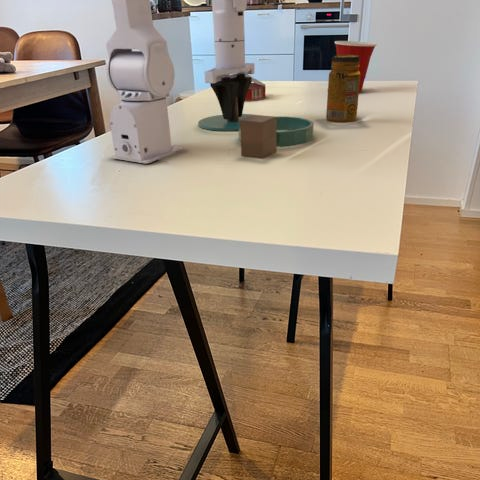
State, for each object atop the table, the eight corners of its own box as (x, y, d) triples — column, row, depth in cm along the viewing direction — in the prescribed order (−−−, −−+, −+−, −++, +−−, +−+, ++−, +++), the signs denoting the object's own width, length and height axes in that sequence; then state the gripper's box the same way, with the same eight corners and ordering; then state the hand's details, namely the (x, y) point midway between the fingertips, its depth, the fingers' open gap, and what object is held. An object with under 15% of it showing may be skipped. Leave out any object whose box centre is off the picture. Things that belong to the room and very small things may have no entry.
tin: (291, 153, 79) (291, 135, 78) (225, 145, 86) (224, 128, 84) (324, 136, 88) (325, 119, 87) (263, 130, 95) (263, 114, 93)
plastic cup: (376, 94, 125) (381, 41, 118) (334, 95, 125) (337, 43, 118) (367, 88, 134) (372, 38, 127) (328, 89, 134) (331, 40, 128)
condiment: (354, 118, 101) (359, 53, 94) (364, 127, 94) (371, 57, 87) (319, 120, 101) (322, 55, 94) (326, 128, 94) (331, 59, 87)
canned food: (242, 113, 134) (251, 75, 132) (269, 112, 127) (278, 73, 126) (214, 97, 126) (222, 57, 124) (241, 96, 119) (250, 54, 118)
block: (262, 162, 76) (262, 122, 72) (241, 159, 77) (240, 120, 74) (276, 155, 79) (276, 116, 75) (255, 152, 81) (255, 114, 77)
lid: (243, 136, 90) (242, 104, 87) (184, 130, 97) (181, 100, 94) (280, 122, 100) (280, 92, 97) (224, 117, 107) (222, 89, 104)
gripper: (225, 44, 83) (229, 126, 91) (267, 38, 93) (267, 112, 101) (193, 43, 86) (199, 123, 94) (236, 38, 96) (239, 110, 104)
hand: (232, 117), depth 98 cm, fingers closed on lid, 2 cm apart
